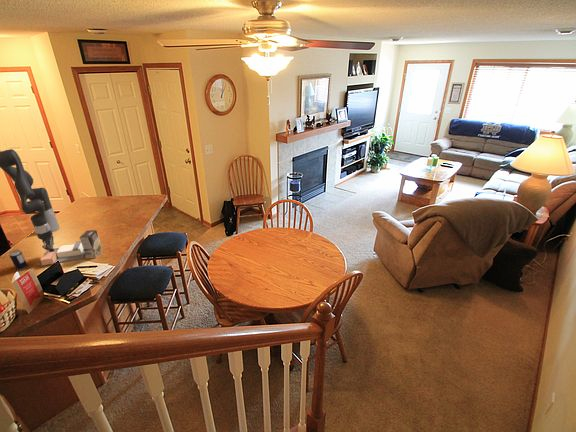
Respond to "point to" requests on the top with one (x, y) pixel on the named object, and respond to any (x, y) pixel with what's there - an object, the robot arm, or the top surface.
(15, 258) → the beverage can
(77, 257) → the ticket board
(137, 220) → the top surface
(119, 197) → the top surface
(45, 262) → the pink block
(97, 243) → the coffee box
